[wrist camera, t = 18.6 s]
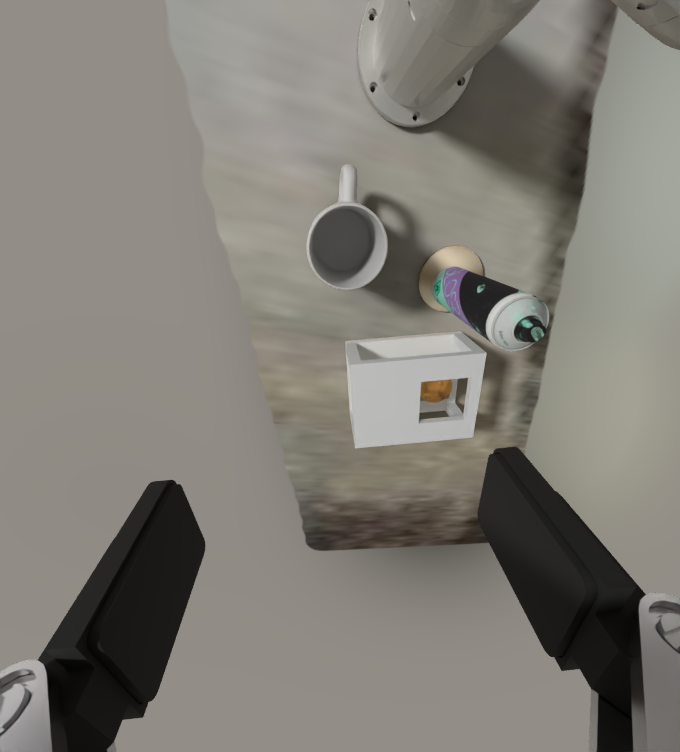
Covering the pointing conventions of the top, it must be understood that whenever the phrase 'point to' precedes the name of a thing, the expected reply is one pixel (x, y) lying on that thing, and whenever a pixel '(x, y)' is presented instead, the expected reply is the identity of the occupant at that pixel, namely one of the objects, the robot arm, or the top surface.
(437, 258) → the coaster
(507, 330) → the spray can
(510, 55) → the top surface
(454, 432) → the white open box frame
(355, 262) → the mug
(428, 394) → the button
